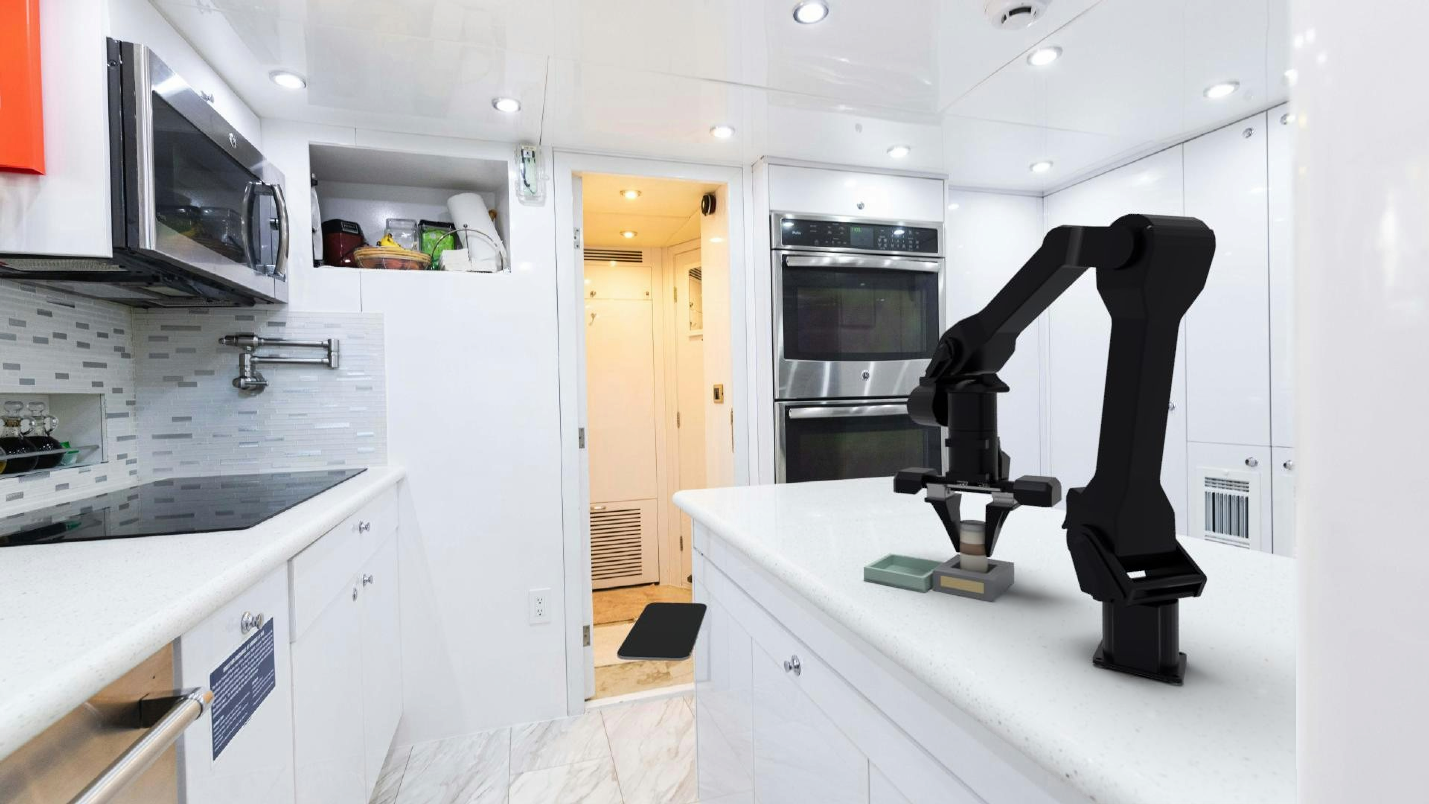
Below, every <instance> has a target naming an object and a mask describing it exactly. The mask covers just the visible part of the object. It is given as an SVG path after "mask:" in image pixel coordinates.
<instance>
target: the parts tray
mask: <svg viewBox="0 0 1429 804" xmlns="http://www.w3.org/2000/svg"><path fill="white" fill-rule="evenodd" d="M945 562H946V561H945ZM945 562H944V561H939V560H932V559H926V558H920V557H914V556H909V555H902V554H895V553H891V552H890V553H888V554H886V555H884V556H882V557H880V558H879V559H877V560H874V561H872V562H870V563H869V564H867V565H865V566H864V567H863V581H864V582H869V583H874V584H877V585H878V584H879V585H884V586H888V587H892V588H898V589H904V590H908V591H915V592H920V593H924V594H925V593H926V592H928V591H929V590H931V589H933V570H934V569H935V568H937V567H939V566H940V565H942V564H943V563H945Z"/></svg>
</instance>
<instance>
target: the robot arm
mask: <svg viewBox="0 0 1429 804" xmlns="http://www.w3.org/2000/svg"><path fill="white" fill-rule="evenodd" d="M1216 239H1217V238H1216V235H1215V232H1214V229H1212V228H1210V227H1209V226H1208V224H1206V223H1205V222H1204V221H1203V220H1201V219H1200V218H1196V217H1194V216H1183V215H1182V216H1181V215H1179V216H1178V215H1166V214H1165V215H1164V214H1163V215H1162V214H1148V213H1147V214H1146V213H1127V214H1124V215H1122V216H1119V217H1117V218H1116V219H1115V220H1114V221H1112V222H1111V223H1110V225H1101V226H1100V225H1099V226H1098V225H1095V226H1094V225H1093V226H1092V225H1076V224H1060V225H1058V226H1056V227H1054V228H1051V229H1050V230H1049V231H1048V232H1046V234H1045V236H1044V237H1043V240H1042V244H1041V246H1040V247H1039V248H1038V249H1037V250H1036V251H1035V252H1034V253H1033V255H1031V257H1030V258H1028V260H1027V261H1026V262H1025V263H1024V264H1023V265H1022V266H1021V268H1019V270H1018V271H1017V272H1016V273H1015V274H1014V275H1013V276H1012V277H1011V278H1010V279H1009V280H1008V282H1007V283H1006V284H1005V285H1004V286H1003V287H1002V288H1001V289H1000V290H999V291H998V292H997V293H996V295H995V296H994V297H993V298H992V299H991V300H990V301H989V302H988V303H987V304H986V305H985V307H983V308H982V309H981V310H979V311H978V312H977V313H973V314H971V315H969V316H966V317H964V318H962V319H960V320H958V321H957V322H955V323H954V324H953V325H952V326H951V327H949V328H948V329H947V330H945V331H944V332H943V333H942V335H941V337H940V338H939V341H938V343H937V345H936V348H935V350H934V353H933V355H932V357H931V360H930V362H929V364H928V365H927V367H926V368H925V370H924V372H925V374H924V376H919V378H918V382H919V383H918V384H919V385H917V386H916V387H914V388H913V389H912V390H911V391H910V394H909V395H908V398H907V400H906V411H907V414H908V416H909V417H910V419H911V420H912V421H913V422H914V423H916V424H918V425H923V426H932V427H944V428H947V438H944V447H945V448H947V456H948V457H947V459H948V463H947V464H948V470H947V471H944V473H945V474H944V475H939V473H938V470H937V469H936V468H929V467H927V468H926V467H917V466H916V467H912V466H910V467H907V468H904V469H900V470H898V471H897V472H896V473H895V474H894V476H893V480H892V482H893V483H892V484H893V493H894V494H895V493H896V494H902V495H903V494H905V495H912V496H915V495H917V494H919V492H921V490H923V489H926V496H925V497H924V498H923V499H924V500H923V501H924V503H927V504H928V503H929V504H930V505H931V506H932V507H933V509H934V511H935V514H937V516H938V518H939V520H940V521H941V523H942V525H943V526H944V528H945V531H946V533H947V535H948V539H950V541H951V545H952V547H953V548H954V551H955V553H957V554H960V529H959V521H962V519H961V502H962V495H963V494H962V493H971V494H983V495H991V498H992V501H989V503H987V504H985V511H984V513H985V517H984V520H985V521H984V522H985V551H986V557H988V558H991V557H992V556H993V554H994V551H995V547H996V546H997V542H998V539H999V537H1000V534H1001V532H1002V528H1003V526H1004V524H1005V522H1006V520H1007V518H1008V516H1009V514H1010V513H1011V512H1013V511H1015V510H1016V509H1019V508H1020V507H1021V506H1025V507H1026V506H1027V507H1038V508H1053V507H1054V506H1056V505H1057V504H1058V503H1060V502H1061V501H1062V500H1063V499H1062V498H1063V496H1062V493H1063V491H1062V483H1061V481H1060V480H1059V479H1058V478H1057V477H1056V476H1044V475H1029V474H1025V475H1022V476H1020V477H1018V478H1016V479H1014V480H1010V469H1011V460H1012V459H1011V457H1010V455H1008V453H1006V452H1005V451H1004V450H1002V447H1001V440H1000V436H998V435H999V434H998V394H1003V393H1010V391H1011V388H1010V387H1009V385H1008V384H1007V383H1006V382H1005V381H1003V380H1002V379H1001V378H1000V377H999V375H998V374H997V373H999V372H1000V371H1001V370H1002V369H1003V367H1004V366H1006V364H1007V363H1008V361H1009V359H1010V358H1011V357H1012V356H1013V355H1014V354H1015V352H1016V349H1017V347H1016V346H1017V339H1018V337H1019V336H1020V335H1021V333H1022V332H1023V331H1024V330H1025V329H1027V328H1028V327H1029V326H1030V325H1031V324H1032V323H1033V322H1034V321H1035V320H1036V319H1037V318H1038V317H1039V316H1041V314H1042V313H1043V312H1044V311H1045V310H1046V309H1048V308H1049V307H1050V305H1052V304H1053V303H1054V302H1055V301H1056V300H1057V299H1058V298H1059V297H1060V296H1061V295H1062V294H1063V293H1065V292H1066V291H1067V290H1068V289H1069V288H1070V287H1071V286H1072V285H1073V284H1074V283H1075V282H1076V281H1077V280H1079V278H1081V277H1082V275H1084V274H1085V273H1086V272H1087V271H1088V270H1089V269H1090V268H1093V269H1094V268H1095V284H1096V290H1097V292H1098V294H1099V297H1100V298H1101V300H1102V302H1103V304H1104V306H1105V308H1106V310H1107V313H1108V314H1109V316H1110V321H1111V322H1110V323H1111V326H1110V334H1109V345H1108V353H1107V364H1106V373H1105V379H1104V380H1105V382H1104V389H1103V390H1104V391H1103V398H1102V399H1103V400H1102V409H1101V410H1102V411H1101V417H1100V428H1099V435H1098V436H1099V438H1098V445H1097V446H1098V447H1097V456H1096V465H1095V471H1094V474H1093V476H1092V477H1091V478H1090V480H1089V482H1087V484H1086V485H1085V486H1078V487H1070V488H1069V489H1068V490H1067V493H1066V495H1065V518H1064V520H1063V522H1062V525H1061V527H1060V528H1061V529H1062V530H1066V533H1065V537H1066V538H1065V539H1066V547H1067V550H1068V551H1069V554H1070V557H1071V560H1072V564H1073V568H1074V571H1075V575H1076V578H1077V582H1078V585H1079V588H1080V589H1079V590H1080V591H1081V592H1082V593H1084V594H1087V595H1090V596H1091V597H1092V599H1093V600H1095V601H1097V602H1101V609H1102V610H1101V611H1102V612H1101V613H1102V614H1101V618H1102V619H1101V622H1102V624H1101V628H1102V629H1101V630H1102V631H1101V633H1102V636H1101V637H1102V638H1101V640H1100V642H1099V643H1098V646H1097V648H1096V650H1095V652H1094V654H1093V655H1092V663H1093V665H1096V666H1101V667H1105V668H1107V669H1108V668H1109V669H1113V670H1117V671H1121V672H1126V673H1129V674H1134V675H1138V676H1143V677H1147V678H1151V679H1155V680H1160V681H1163V682H1168V683H1173V684H1176V685H1178V684H1179V685H1180V684H1183V682H1184V677H1185V673H1186V672H1185V671H1186V667H1187V666H1186V665H1187V661H1188V660H1187V659H1188V656H1187V653H1185V652H1183V651H1180V599H1186V598H1200V597H1201V596H1202V594H1203V591H1204V589H1205V586H1206V584H1207V581H1208V576H1207V575H1206V573H1204V571H1203V570H1202V568H1200V566H1199V565H1198V563H1196V561H1195V560H1194V559H1193V557H1192V556H1191V555H1190V554H1189V553H1188V552H1187V550H1186V549H1185V548H1184V546H1183V545H1182V544H1181V543H1180V542H1179V540H1178V538H1177V532H1176V530H1177V529H1176V528H1177V526H1176V512H1175V510H1174V507H1173V506H1172V503H1171V501H1170V499H1169V498H1168V496H1167V494H1166V491H1165V489H1164V488H1163V486H1162V484H1161V475H1162V474H1161V473H1162V466H1163V465H1162V464H1163V458H1164V450H1165V444H1166V443H1165V442H1166V433H1167V426H1168V418H1169V409H1170V403H1171V394H1172V393H1171V392H1172V386H1173V377H1174V370H1175V369H1174V368H1175V363H1176V362H1175V361H1176V356H1177V355H1176V354H1177V346H1178V339H1179V338H1178V337H1179V329H1180V324H1181V321H1182V318H1183V317H1185V314H1186V313H1187V312H1188V310H1189V309H1190V307H1192V305H1193V303H1195V301H1196V300H1197V298H1198V297H1200V294H1201V293H1202V292H1203V290H1204V289H1205V287H1206V282H1207V279H1208V278H1209V277H1208V276H1209V273H1210V269H1211V267H1212V264H1213V260H1214V257H1215V253H1216V249H1217V240H1216ZM959 492H962V493H959ZM1137 572H1144V575H1143V576H1136V577H1130V576H1129V574H1130V573H1137Z"/></svg>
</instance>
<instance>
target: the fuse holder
mask: <svg viewBox="0 0 1429 804" xmlns="http://www.w3.org/2000/svg"><path fill="white" fill-rule="evenodd" d="M1014 583H1015V562H1013V561H1006V560H1000V559H994V558H988V573H987V574H985V573H979V572H974V571H968V570H962V569H960V553H957V554H955V555H954V556H952V557H951V558H950V559H947V560H946V561H945V563H943V564H942V565H940V566H939V567H937V568H935V569H934V570H933V587H932V591H935V592H941V593H945V594H949V595H955V596H959V597H960V596H961V597H965V598H970V599H976V600H981V601H984V602H985V601H986V602H992V603H993V602H995V601H996V600H997V599H998V598H999V597H1000V596H1001V595H1003V593H1004V592H1005V591H1006V590H1008V589H1009V588H1010V587H1011V586H1012V585H1013V584H1014Z"/></svg>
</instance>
